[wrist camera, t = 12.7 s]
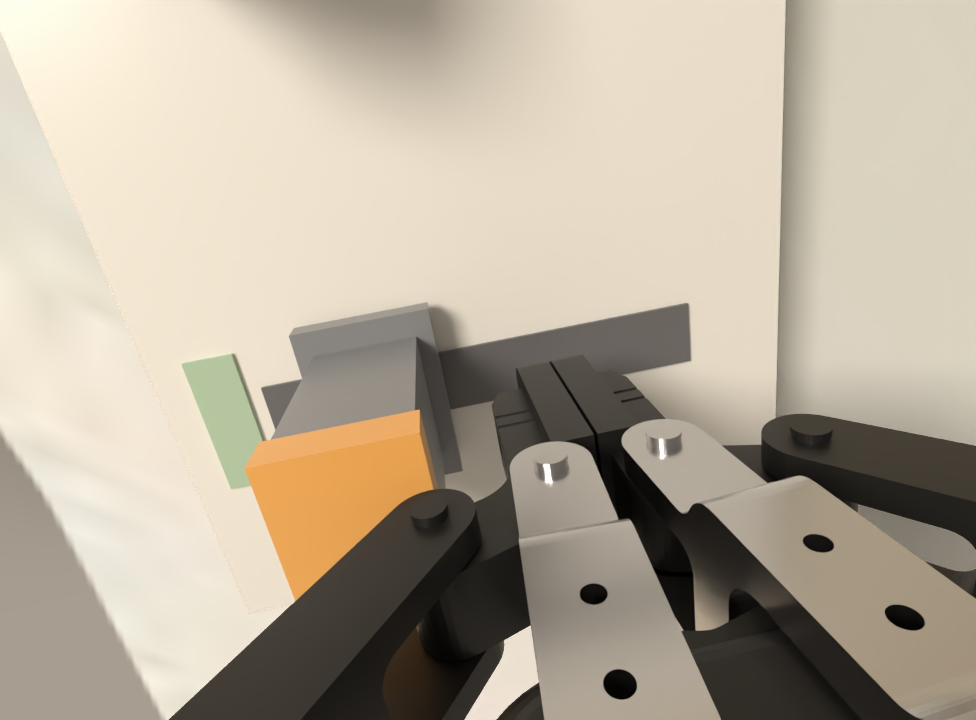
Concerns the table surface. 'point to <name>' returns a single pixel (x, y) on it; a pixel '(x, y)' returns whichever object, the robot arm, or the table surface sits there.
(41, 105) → the switch box
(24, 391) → the table surface
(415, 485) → the orange and grey block
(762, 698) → the robot arm
